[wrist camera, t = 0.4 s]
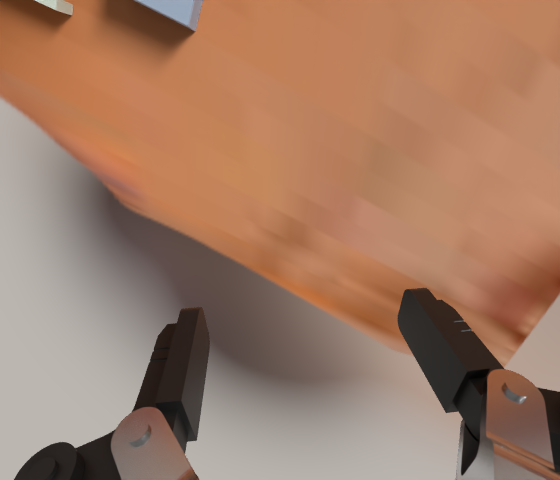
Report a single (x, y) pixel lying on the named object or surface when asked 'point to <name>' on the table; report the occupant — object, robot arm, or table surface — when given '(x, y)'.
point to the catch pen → (58, 5)
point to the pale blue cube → (176, 10)
